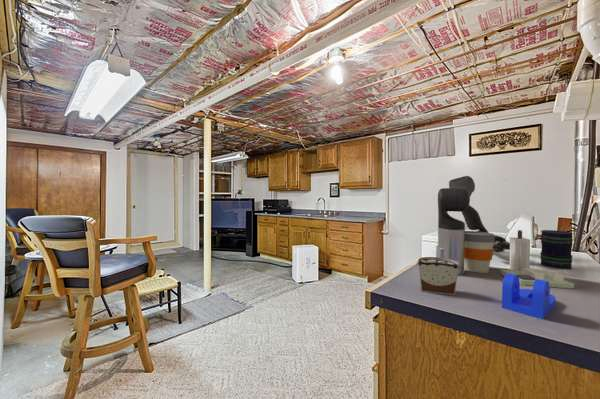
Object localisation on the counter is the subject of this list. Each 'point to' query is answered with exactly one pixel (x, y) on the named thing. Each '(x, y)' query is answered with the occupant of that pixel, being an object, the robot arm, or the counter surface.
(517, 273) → the board
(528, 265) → the plug
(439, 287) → the food container
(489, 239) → the reusable coffee cup
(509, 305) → the bracket
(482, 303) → the counter surface
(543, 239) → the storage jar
